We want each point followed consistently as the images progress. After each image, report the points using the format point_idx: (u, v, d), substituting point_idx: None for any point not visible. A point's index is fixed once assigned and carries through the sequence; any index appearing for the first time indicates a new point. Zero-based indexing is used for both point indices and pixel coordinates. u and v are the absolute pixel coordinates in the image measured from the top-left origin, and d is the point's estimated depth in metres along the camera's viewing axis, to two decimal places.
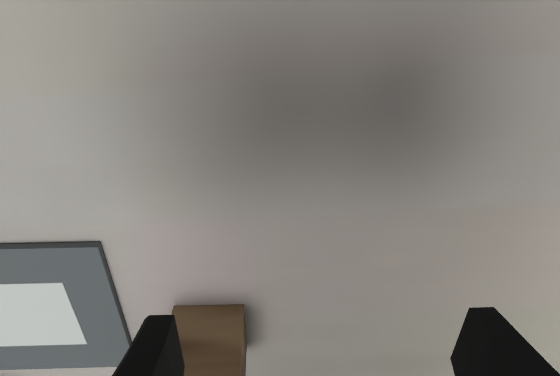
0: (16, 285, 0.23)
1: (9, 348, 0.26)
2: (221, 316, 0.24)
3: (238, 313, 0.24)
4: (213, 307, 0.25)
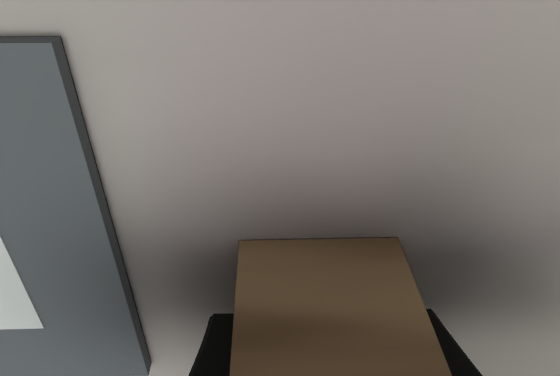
0: None
1: None
2: (356, 262, 0.10)
3: (394, 256, 0.10)
4: (331, 244, 0.11)
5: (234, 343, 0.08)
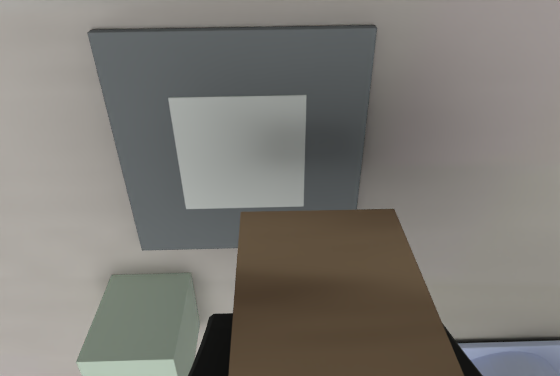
0: (242, 99, 0.16)
1: (199, 213, 0.19)
2: (353, 230, 0.11)
3: (391, 225, 0.11)
4: (330, 215, 0.11)
5: (236, 301, 0.09)
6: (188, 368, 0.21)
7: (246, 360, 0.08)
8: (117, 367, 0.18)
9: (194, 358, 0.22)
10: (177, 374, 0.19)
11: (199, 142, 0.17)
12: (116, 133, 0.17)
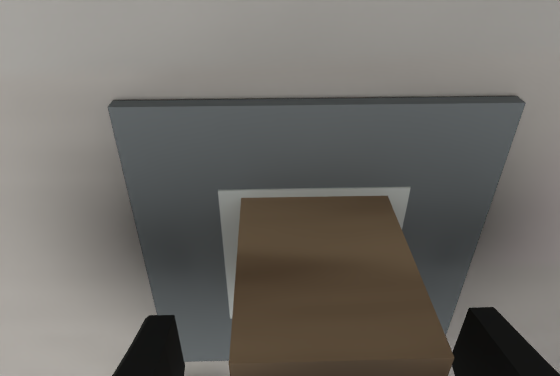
0: (320, 192, 0.12)
1: None
2: (348, 215, 0.11)
3: (384, 210, 0.11)
4: (326, 201, 0.12)
5: (237, 279, 0.09)
6: None
7: (246, 332, 0.08)
8: None
9: None
10: None
11: None
12: (143, 233, 0.12)
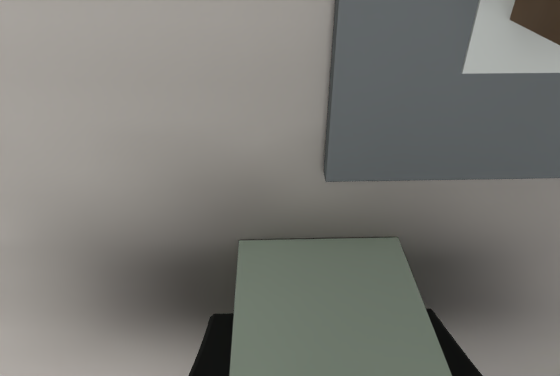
0: None
1: (487, 85, 0.08)
2: None
3: None
4: None
5: None
6: None
7: None
8: None
9: None
10: None
11: None
12: None
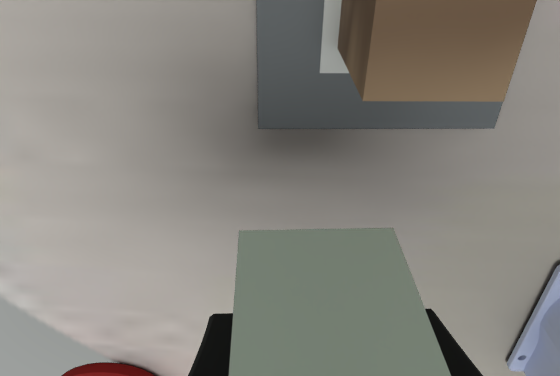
0: None
1: (333, 79, 0.17)
2: None
3: None
4: None
5: None
6: None
7: None
8: None
9: None
10: None
11: None
12: None
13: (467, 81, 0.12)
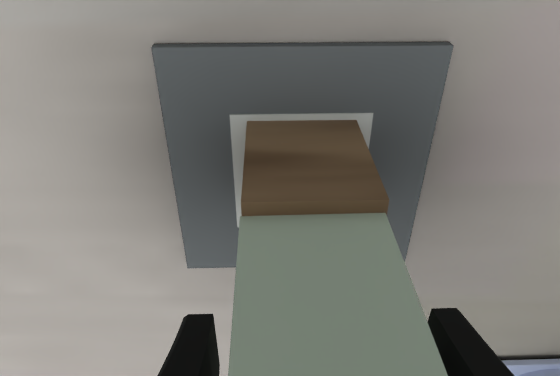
0: (305, 117, 0.16)
1: None
2: (326, 130, 0.15)
3: (352, 128, 0.15)
4: (310, 123, 0.16)
5: (245, 163, 0.13)
6: None
7: (252, 188, 0.12)
8: None
9: None
10: None
11: None
12: (172, 150, 0.16)
13: None
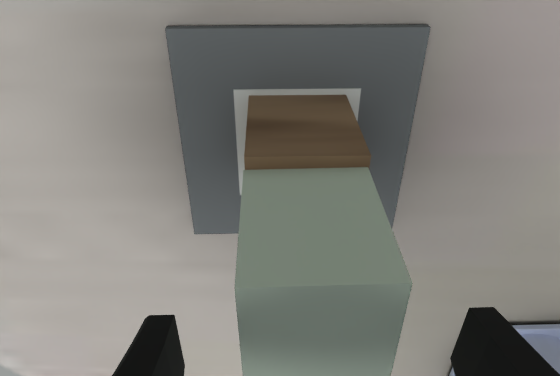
0: (301, 92, 0.18)
1: None
2: (318, 103, 0.17)
3: (342, 101, 0.17)
4: (305, 97, 0.18)
5: (247, 128, 0.15)
6: None
7: (253, 146, 0.14)
8: (306, 298, 0.10)
9: None
10: (403, 314, 0.10)
11: None
12: (182, 123, 0.18)
13: None
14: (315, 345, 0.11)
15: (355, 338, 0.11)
